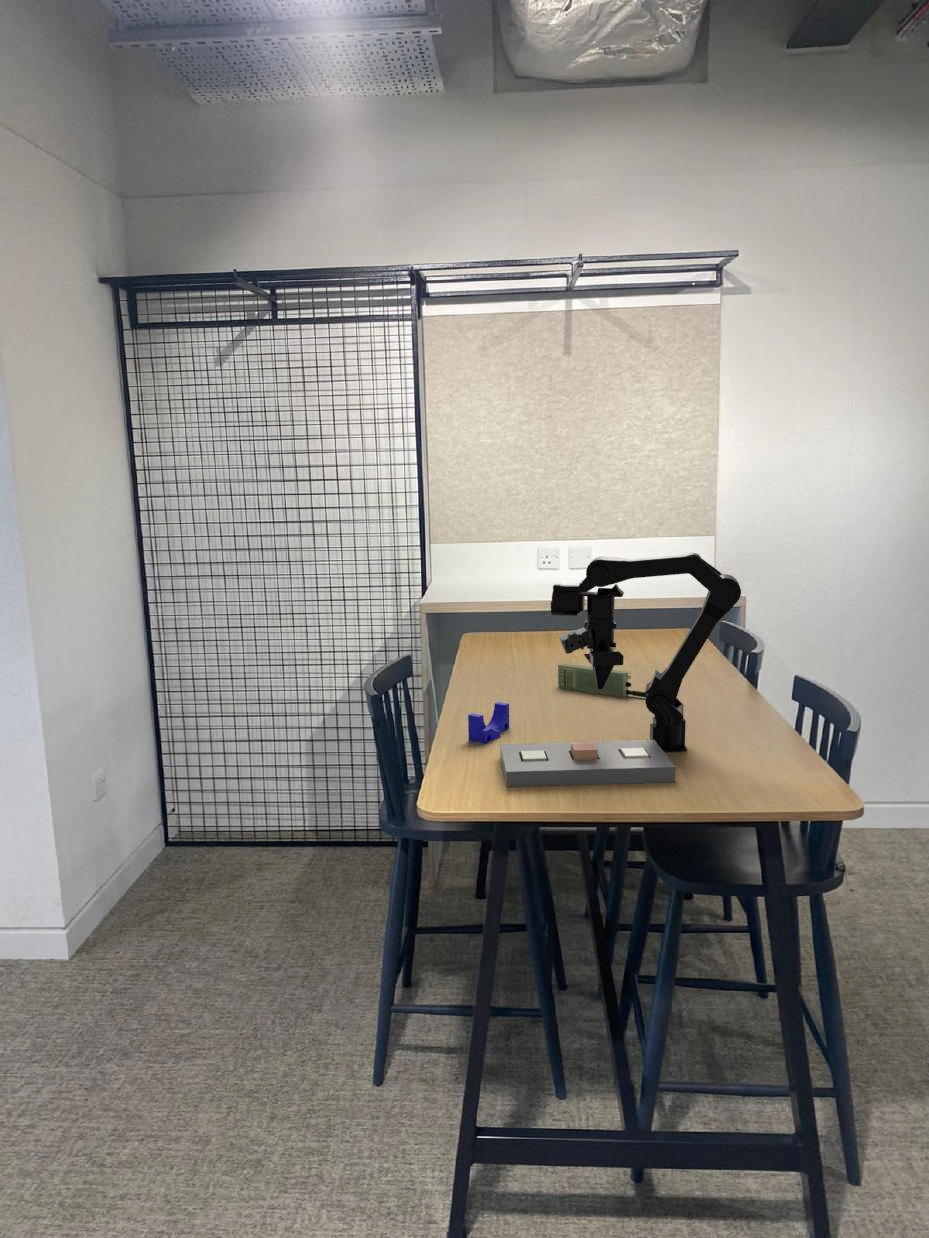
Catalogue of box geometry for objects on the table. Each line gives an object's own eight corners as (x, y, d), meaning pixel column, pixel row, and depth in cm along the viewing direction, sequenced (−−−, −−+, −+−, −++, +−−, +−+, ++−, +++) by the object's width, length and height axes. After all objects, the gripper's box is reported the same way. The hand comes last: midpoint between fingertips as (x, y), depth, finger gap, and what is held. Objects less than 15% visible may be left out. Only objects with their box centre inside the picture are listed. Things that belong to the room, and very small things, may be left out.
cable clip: (485, 744, 187) (485, 718, 186) (468, 741, 190) (468, 714, 189) (514, 730, 197) (514, 704, 196) (498, 726, 199) (498, 701, 198)
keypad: (654, 753, 179) (654, 739, 178) (675, 781, 163) (675, 766, 163) (500, 757, 178) (500, 744, 178) (506, 786, 162) (506, 771, 162)
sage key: (543, 759, 172) (543, 750, 172) (546, 767, 168) (546, 758, 168) (521, 760, 172) (521, 751, 172) (523, 768, 168) (523, 758, 168)
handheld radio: (562, 685, 235) (649, 698, 221) (557, 688, 232) (644, 701, 218) (562, 662, 233) (649, 672, 219) (556, 665, 231) (644, 676, 217)
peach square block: (593, 751, 173) (593, 742, 172) (597, 759, 168) (597, 749, 168) (571, 752, 172) (571, 742, 172) (574, 760, 168) (574, 750, 168)
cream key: (642, 757, 173) (643, 747, 173) (648, 765, 169) (648, 755, 168) (620, 757, 173) (620, 748, 173) (625, 765, 168) (625, 755, 168)
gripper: (556, 610, 191) (556, 678, 193) (569, 626, 172) (568, 701, 175) (606, 609, 191) (605, 677, 194) (624, 625, 172) (623, 700, 175)
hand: (599, 688), depth 184 cm, fingers closed
